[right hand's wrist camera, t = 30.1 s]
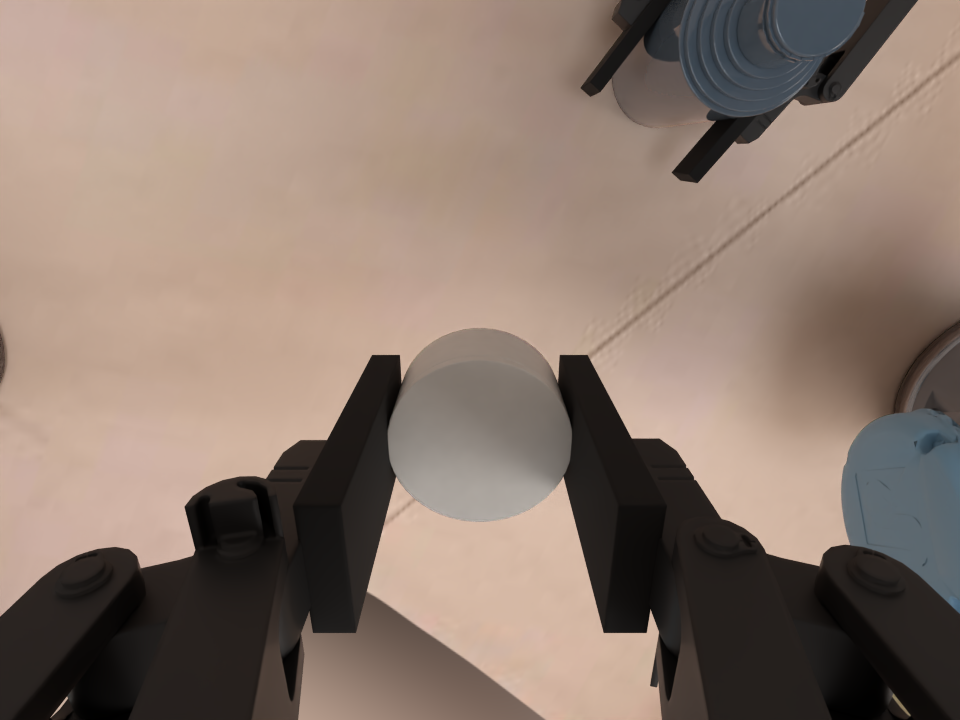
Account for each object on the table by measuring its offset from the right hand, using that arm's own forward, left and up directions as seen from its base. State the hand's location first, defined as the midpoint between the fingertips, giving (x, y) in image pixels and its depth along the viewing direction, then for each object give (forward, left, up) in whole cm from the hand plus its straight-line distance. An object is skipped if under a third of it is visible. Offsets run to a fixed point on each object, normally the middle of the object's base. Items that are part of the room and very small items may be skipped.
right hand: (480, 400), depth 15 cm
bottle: (+3, +16, -26) cm, 31 cm away
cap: (0, 0, +2) cm, 2 cm away
